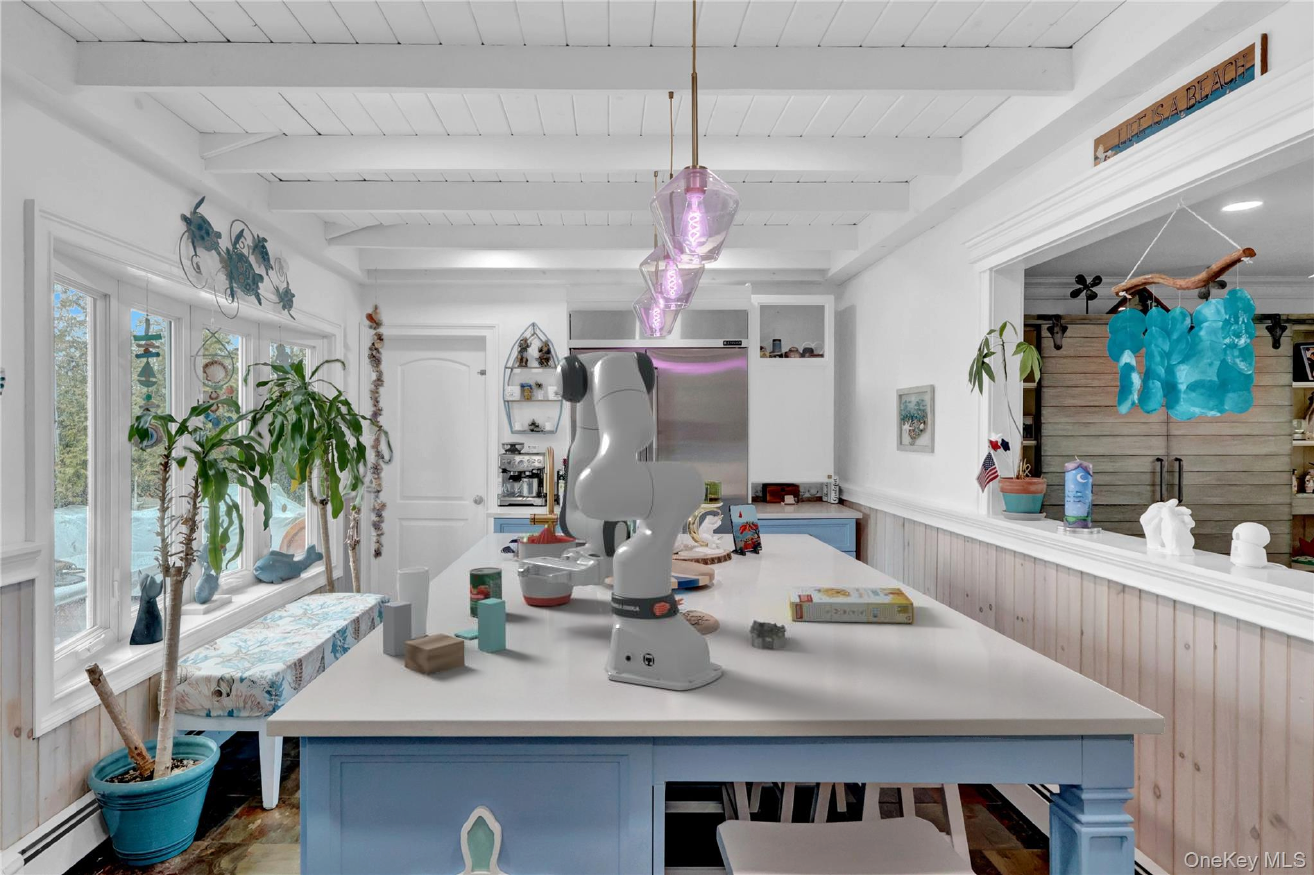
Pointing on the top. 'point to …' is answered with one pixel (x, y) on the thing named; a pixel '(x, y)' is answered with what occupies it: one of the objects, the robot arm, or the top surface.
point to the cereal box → (850, 604)
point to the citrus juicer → (537, 588)
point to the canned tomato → (484, 586)
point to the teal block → (491, 625)
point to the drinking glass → (415, 596)
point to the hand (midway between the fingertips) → (534, 576)
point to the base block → (434, 654)
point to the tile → (467, 634)
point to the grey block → (396, 627)
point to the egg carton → (767, 635)
